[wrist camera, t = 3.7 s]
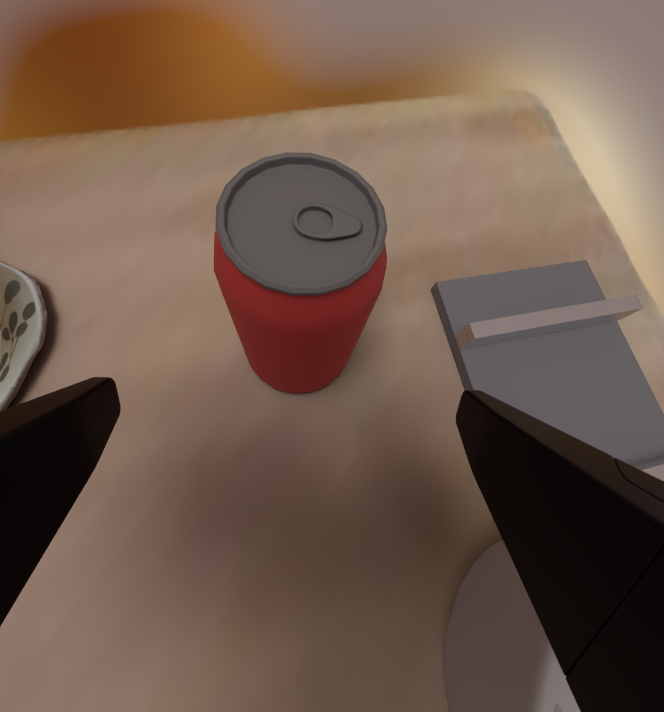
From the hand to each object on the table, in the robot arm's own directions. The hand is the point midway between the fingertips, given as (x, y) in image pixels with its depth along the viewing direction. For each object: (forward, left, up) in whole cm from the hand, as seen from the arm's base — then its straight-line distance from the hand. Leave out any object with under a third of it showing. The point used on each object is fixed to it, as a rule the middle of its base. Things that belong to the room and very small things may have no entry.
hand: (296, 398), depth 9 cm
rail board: (+17, +1, -12) cm, 21 cm away
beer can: (+1, +6, -12) cm, 14 cm away
